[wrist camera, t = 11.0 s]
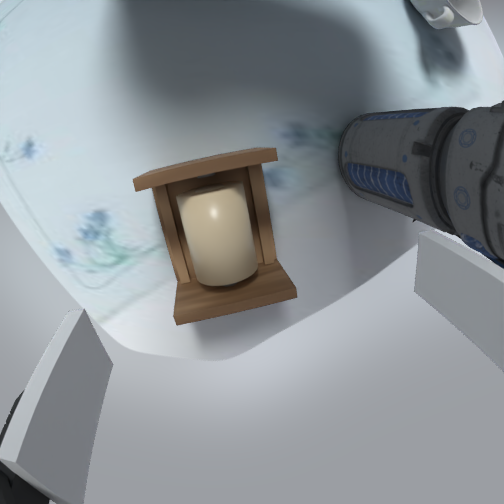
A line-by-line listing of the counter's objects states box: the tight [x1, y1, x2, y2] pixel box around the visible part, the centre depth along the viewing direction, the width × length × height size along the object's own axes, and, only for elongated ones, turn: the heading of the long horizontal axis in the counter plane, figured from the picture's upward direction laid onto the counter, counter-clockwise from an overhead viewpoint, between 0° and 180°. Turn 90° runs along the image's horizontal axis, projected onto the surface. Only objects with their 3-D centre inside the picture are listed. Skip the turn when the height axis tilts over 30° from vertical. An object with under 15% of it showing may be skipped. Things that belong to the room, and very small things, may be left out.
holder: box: [133, 148, 297, 325], centre depth 27 cm, size 13×11×8 cm
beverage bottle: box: [338, 101, 504, 269], centre depth 20 cm, size 10×13×25 cm
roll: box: [176, 181, 258, 286], centre depth 27 cm, size 8×6×6 cm
